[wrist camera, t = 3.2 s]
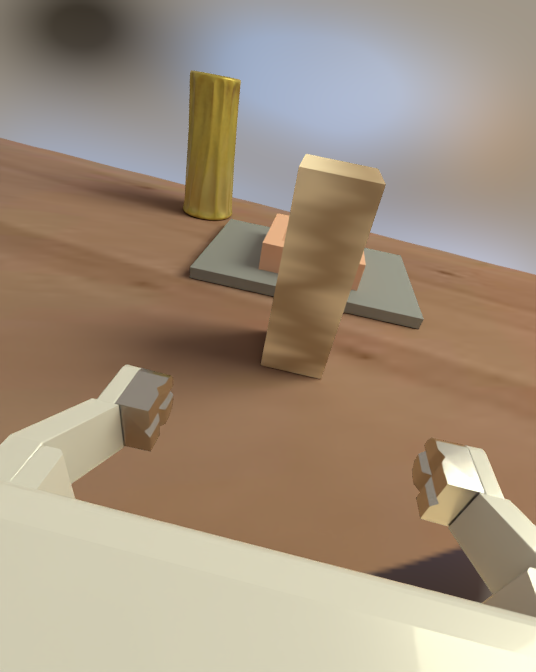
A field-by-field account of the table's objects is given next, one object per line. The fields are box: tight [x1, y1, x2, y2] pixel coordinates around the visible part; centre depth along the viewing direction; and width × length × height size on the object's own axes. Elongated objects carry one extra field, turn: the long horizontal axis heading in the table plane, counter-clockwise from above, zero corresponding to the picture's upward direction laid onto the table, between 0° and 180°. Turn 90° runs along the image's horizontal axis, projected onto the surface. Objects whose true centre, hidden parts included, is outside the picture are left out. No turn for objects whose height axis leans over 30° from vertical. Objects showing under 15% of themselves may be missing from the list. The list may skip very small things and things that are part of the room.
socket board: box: [190, 214, 423, 329], centre depth 35 cm, size 20×14×4 cm
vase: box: [183, 71, 241, 220], centre depth 42 cm, size 6×6×14 cm
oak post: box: [261, 154, 386, 379], centre depth 21 cm, size 4×4×12 cm
